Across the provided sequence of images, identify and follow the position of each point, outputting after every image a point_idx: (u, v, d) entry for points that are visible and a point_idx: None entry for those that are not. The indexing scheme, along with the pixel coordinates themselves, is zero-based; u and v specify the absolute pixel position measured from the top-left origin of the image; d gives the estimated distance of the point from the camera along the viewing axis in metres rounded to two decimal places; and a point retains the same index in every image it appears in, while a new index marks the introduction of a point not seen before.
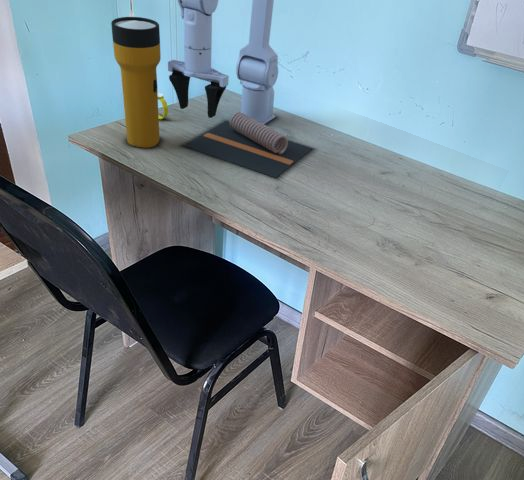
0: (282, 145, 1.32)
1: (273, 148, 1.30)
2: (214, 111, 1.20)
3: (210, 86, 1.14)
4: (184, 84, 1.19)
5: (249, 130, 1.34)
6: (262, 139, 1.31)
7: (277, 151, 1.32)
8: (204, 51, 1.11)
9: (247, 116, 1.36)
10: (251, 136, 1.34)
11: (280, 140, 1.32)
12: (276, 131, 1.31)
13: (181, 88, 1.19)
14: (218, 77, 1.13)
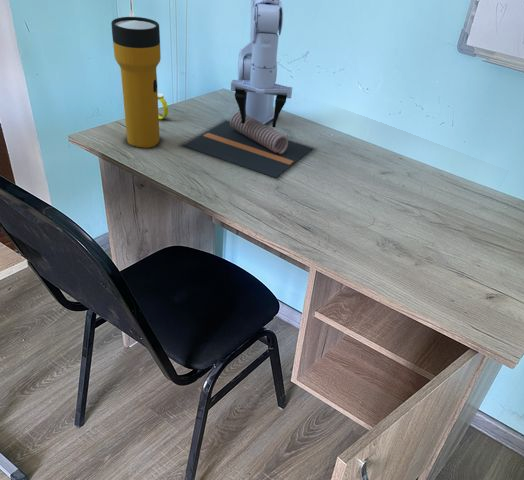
0: (282, 145, 1.32)
1: (273, 147, 1.30)
2: None
3: (279, 99, 1.26)
4: (245, 100, 1.30)
5: (249, 129, 1.34)
6: (262, 138, 1.31)
7: (277, 151, 1.32)
8: (273, 69, 1.23)
9: (248, 116, 1.36)
10: (251, 135, 1.34)
11: (280, 140, 1.32)
12: (277, 131, 1.31)
13: (244, 105, 1.29)
14: (286, 90, 1.26)
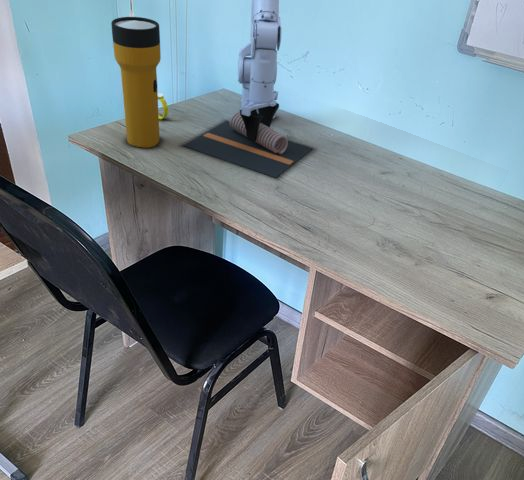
0: (282, 145, 1.32)
1: (273, 148, 1.30)
2: None
3: (274, 104, 1.32)
4: None
5: None
6: (262, 139, 1.31)
7: (277, 151, 1.32)
8: None
9: None
10: None
11: (280, 140, 1.32)
12: (276, 131, 1.31)
13: None
14: (276, 93, 1.33)
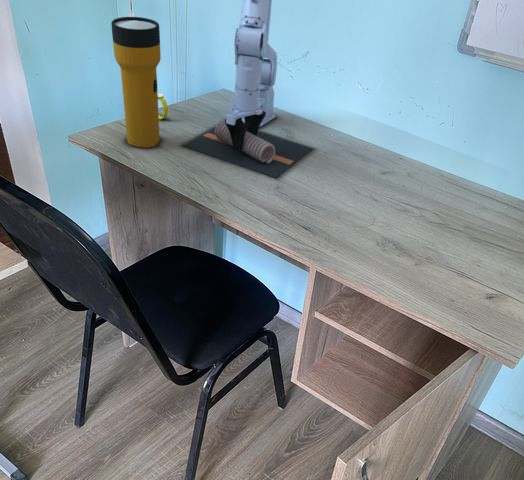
0: (269, 154, 1.28)
1: (260, 157, 1.26)
2: None
3: None
4: None
5: None
6: (249, 148, 1.27)
7: (264, 160, 1.27)
8: None
9: None
10: None
11: (267, 149, 1.28)
12: (263, 140, 1.27)
13: None
14: (262, 101, 1.28)
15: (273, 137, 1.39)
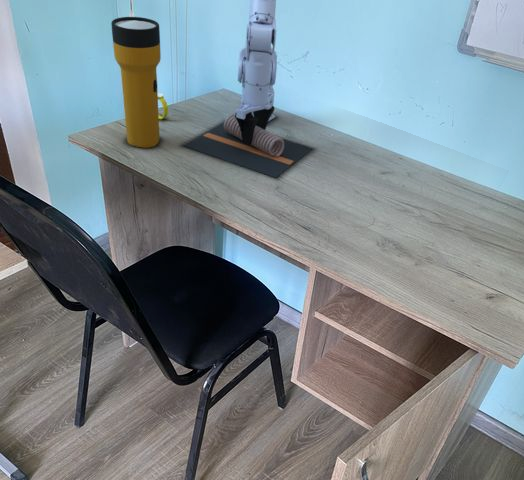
0: (278, 147, 1.31)
1: (270, 151, 1.29)
2: None
3: (270, 107, 1.31)
4: None
5: None
6: (258, 142, 1.30)
7: (274, 154, 1.30)
8: None
9: None
10: None
11: (276, 142, 1.31)
12: None
13: None
14: (271, 96, 1.31)
15: None
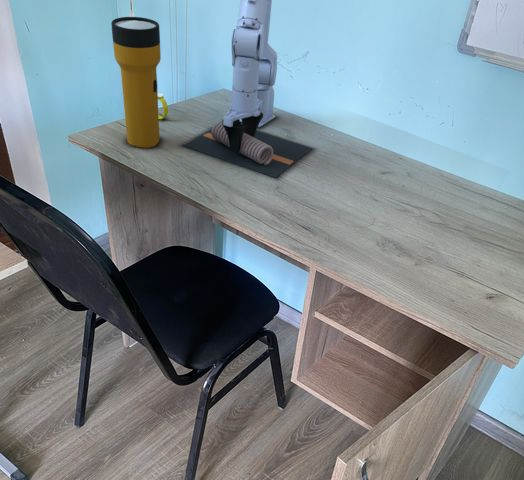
0: (267, 155, 1.27)
1: (258, 159, 1.25)
2: None
3: (258, 114, 1.27)
4: None
5: None
6: (246, 150, 1.26)
7: (262, 162, 1.27)
8: None
9: None
10: None
11: (265, 150, 1.27)
12: (261, 141, 1.26)
13: None
14: (260, 102, 1.27)
15: (273, 137, 1.39)
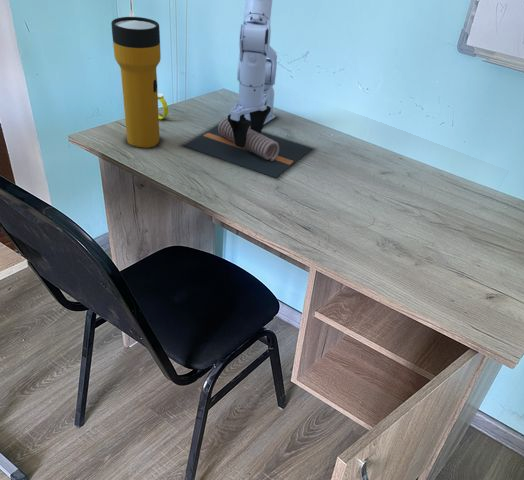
0: (273, 151, 1.29)
1: (265, 155, 1.27)
2: None
3: (266, 108, 1.29)
4: None
5: None
6: (253, 146, 1.28)
7: (268, 158, 1.29)
8: None
9: None
10: None
11: (271, 146, 1.29)
12: (267, 137, 1.28)
13: None
14: (266, 97, 1.29)
15: (273, 137, 1.39)
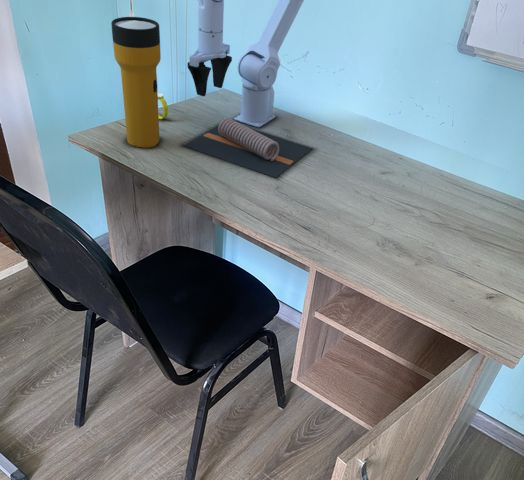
0: (273, 151, 1.29)
1: (264, 155, 1.27)
2: None
3: (227, 57, 1.31)
4: None
5: (239, 136, 1.30)
6: (253, 146, 1.28)
7: (268, 158, 1.29)
8: None
9: (236, 122, 1.32)
10: (241, 143, 1.31)
11: (271, 146, 1.29)
12: (267, 137, 1.28)
13: None
14: (227, 47, 1.31)
15: (273, 137, 1.39)
